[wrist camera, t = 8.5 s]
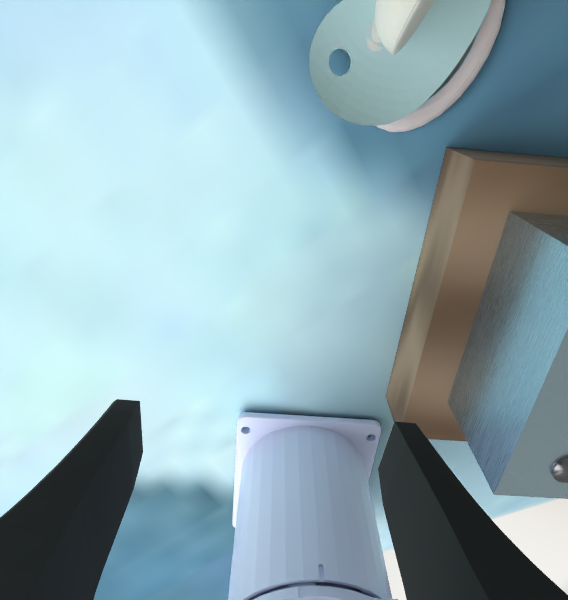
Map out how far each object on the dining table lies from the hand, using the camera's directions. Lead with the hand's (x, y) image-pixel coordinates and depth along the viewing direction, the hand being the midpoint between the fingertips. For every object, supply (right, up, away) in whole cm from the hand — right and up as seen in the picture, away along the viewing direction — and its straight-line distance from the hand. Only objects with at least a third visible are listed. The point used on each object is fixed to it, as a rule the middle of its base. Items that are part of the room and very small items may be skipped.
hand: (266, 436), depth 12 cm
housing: (+11, +3, +6) cm, 12 cm away
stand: (+11, +4, +9) cm, 14 cm away
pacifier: (+5, +14, +4) cm, 15 cm away
